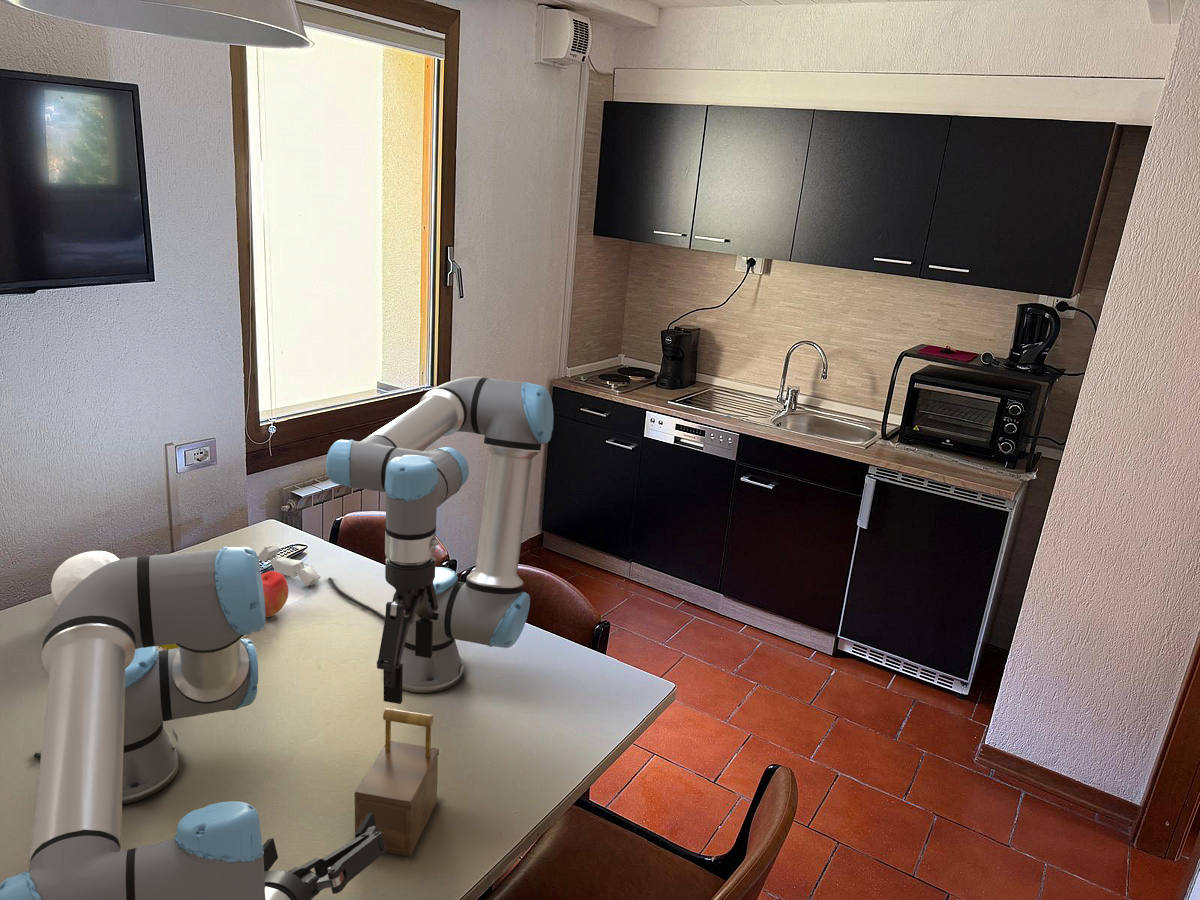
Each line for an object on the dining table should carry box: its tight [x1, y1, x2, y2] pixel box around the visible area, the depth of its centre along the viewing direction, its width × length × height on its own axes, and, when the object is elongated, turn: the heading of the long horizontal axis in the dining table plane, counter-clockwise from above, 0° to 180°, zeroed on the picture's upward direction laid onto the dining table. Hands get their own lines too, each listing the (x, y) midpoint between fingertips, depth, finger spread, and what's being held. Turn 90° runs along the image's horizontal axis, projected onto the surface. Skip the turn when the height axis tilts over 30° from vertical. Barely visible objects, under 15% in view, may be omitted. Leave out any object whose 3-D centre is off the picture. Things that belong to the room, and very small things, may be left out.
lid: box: [354, 707, 440, 807], centre depth 136 cm, size 13×9×9 cm
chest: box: [354, 756, 439, 858], centre depth 139 cm, size 13×9×9 cm
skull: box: [50, 550, 120, 607], centre depth 191 cm, size 13×22×16 cm, turn 73°
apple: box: [261, 570, 289, 618], centre depth 199 cm, size 10×10×10 cm
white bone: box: [257, 544, 322, 587], centre depth 219 cm, size 20×4×7 cm, turn 62°
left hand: (322, 835), depth 115 cm, fingers open, 13 cm apart
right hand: (409, 677), depth 137 cm, fingers open, 13 cm apart
